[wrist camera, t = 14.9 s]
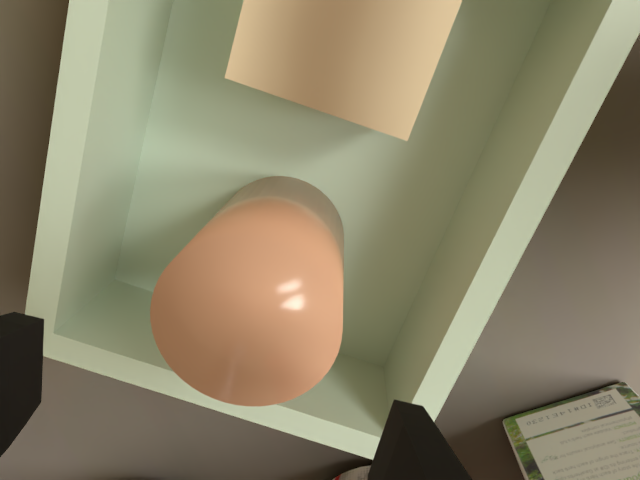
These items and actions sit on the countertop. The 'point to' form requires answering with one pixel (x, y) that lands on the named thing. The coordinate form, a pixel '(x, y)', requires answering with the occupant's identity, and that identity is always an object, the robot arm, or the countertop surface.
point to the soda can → (355, 474)
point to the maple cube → (344, 55)
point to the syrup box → (580, 437)
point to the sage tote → (320, 171)
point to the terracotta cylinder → (256, 296)
